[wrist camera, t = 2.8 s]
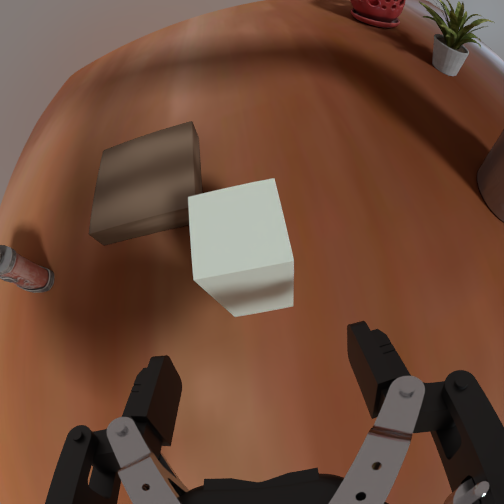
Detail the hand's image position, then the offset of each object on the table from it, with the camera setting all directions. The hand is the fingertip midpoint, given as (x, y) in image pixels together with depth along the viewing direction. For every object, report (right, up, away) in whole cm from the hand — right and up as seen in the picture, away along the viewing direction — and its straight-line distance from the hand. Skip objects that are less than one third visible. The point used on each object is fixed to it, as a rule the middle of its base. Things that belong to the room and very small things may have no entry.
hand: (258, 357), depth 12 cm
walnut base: (-12, +12, +19) cm, 25 cm away
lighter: (-28, +1, +17) cm, 33 cm away
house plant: (+37, +39, +23) cm, 59 cm away
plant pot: (+28, +57, +32) cm, 72 cm away
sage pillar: (0, +2, +13) cm, 13 cm away
